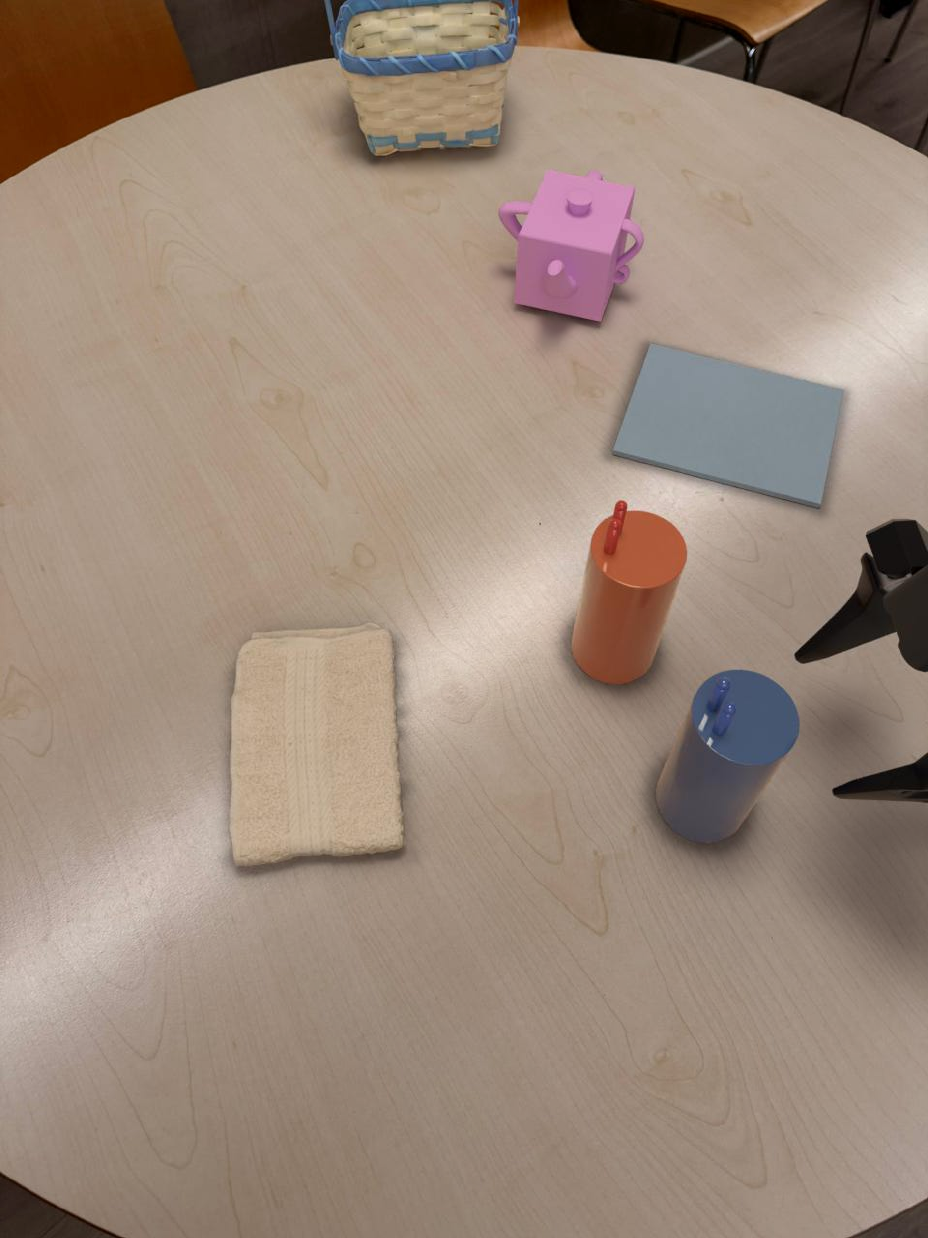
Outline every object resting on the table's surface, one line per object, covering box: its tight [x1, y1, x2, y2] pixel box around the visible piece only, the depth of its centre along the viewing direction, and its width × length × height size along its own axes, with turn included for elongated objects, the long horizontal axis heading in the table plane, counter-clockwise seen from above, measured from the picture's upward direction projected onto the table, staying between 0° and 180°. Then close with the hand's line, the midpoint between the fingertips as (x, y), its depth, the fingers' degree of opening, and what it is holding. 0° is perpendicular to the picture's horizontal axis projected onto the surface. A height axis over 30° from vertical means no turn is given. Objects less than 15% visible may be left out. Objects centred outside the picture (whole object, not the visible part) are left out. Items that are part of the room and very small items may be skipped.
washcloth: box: [229, 621, 407, 867], centre depth 73 cm, size 12×18×3 cm, turn 6°
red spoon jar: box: [570, 499, 688, 685], centre depth 72 cm, size 6×6×16 cm
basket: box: [323, 0, 521, 157], centre depth 105 cm, size 21×16×24 cm
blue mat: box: [611, 343, 845, 509], centre depth 91 cm, size 18×14×1 cm
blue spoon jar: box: [655, 669, 801, 844], centre depth 66 cm, size 6×6×16 cm
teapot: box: [497, 169, 645, 323], centre depth 96 cm, size 18×14×10 cm
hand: (815, 724), depth 63 cm, fingers open, 9 cm apart
